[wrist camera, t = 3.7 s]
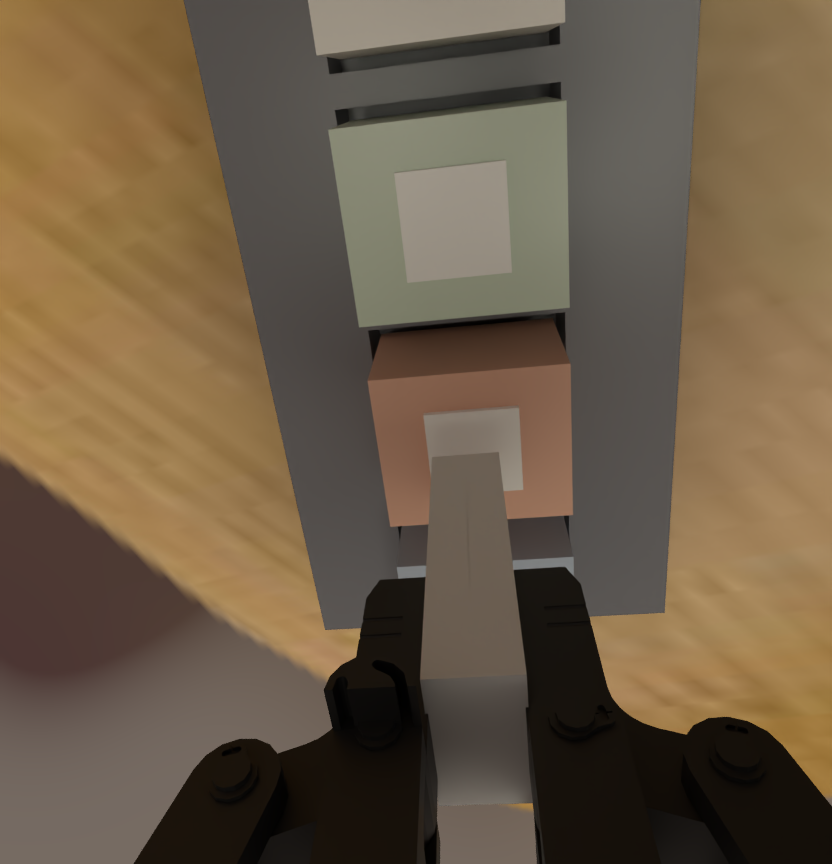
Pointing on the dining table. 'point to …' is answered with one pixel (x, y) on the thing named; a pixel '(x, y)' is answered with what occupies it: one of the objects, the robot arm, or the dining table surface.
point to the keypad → (577, 326)
